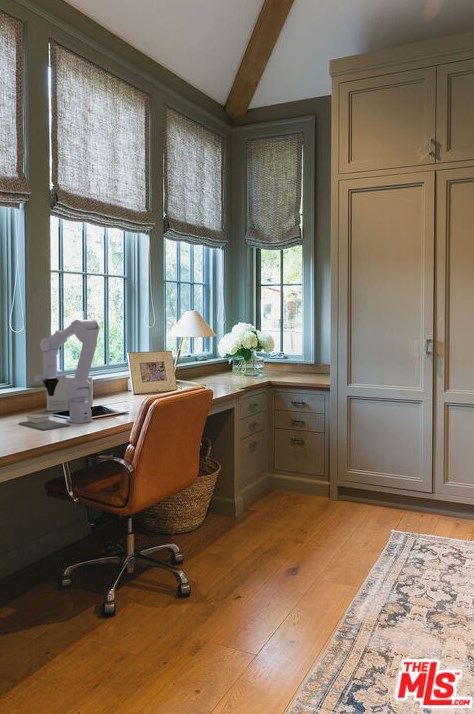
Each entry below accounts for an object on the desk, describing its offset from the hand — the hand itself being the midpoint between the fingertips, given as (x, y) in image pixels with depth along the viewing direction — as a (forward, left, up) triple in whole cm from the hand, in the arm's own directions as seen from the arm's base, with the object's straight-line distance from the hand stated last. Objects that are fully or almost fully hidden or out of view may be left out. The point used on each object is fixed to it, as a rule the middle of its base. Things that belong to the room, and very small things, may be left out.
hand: (51, 395), depth 268 cm
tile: (-7, +14, -8) cm, 18 cm away
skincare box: (+10, -16, -10) cm, 21 cm away
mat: (-15, +13, -9) cm, 22 cm away
